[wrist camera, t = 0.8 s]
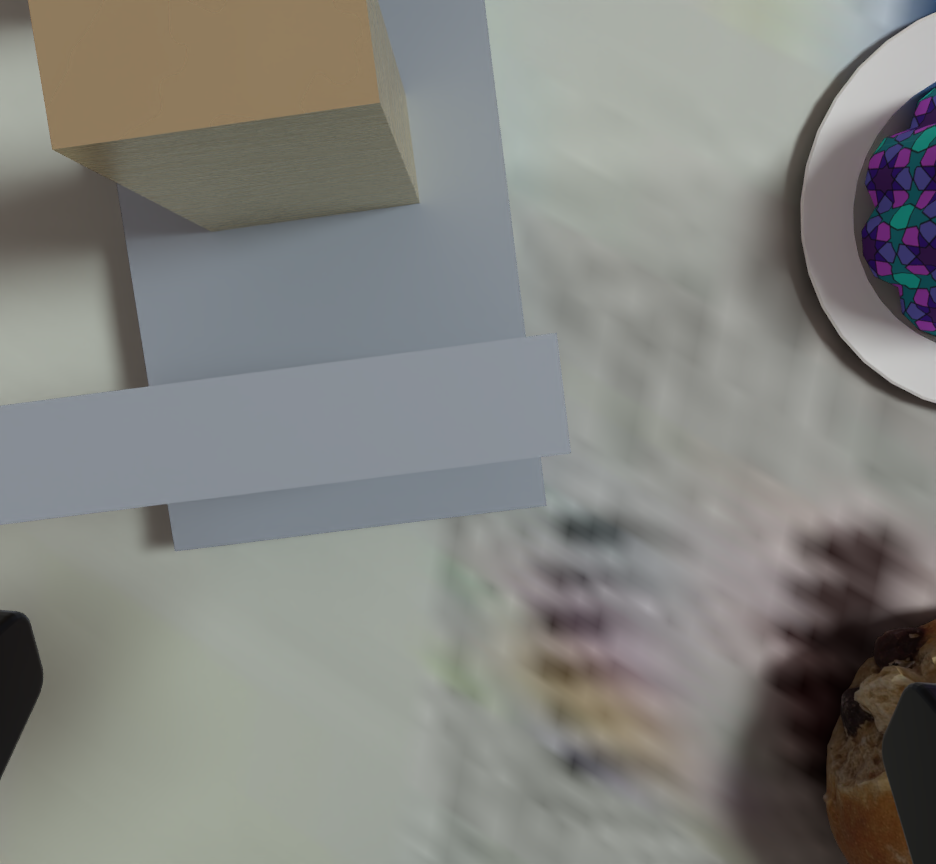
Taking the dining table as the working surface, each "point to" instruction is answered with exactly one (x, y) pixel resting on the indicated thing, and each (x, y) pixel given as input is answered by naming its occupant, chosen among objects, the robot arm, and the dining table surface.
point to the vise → (352, 290)
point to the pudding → (879, 211)
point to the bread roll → (873, 747)
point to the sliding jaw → (283, 429)
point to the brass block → (230, 104)
